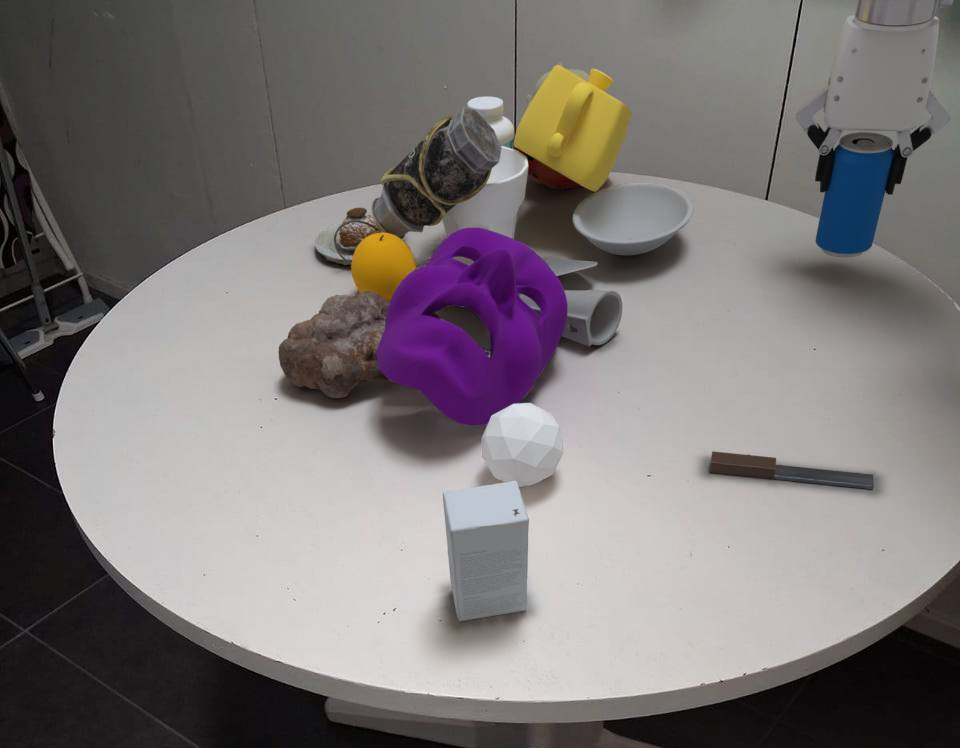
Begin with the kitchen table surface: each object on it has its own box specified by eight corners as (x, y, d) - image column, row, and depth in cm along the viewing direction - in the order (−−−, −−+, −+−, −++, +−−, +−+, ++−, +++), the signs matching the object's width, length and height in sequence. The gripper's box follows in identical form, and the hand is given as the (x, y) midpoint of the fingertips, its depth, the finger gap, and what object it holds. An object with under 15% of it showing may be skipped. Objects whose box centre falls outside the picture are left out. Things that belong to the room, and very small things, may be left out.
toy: (521, 85, 138) (518, 197, 142) (502, 52, 124) (499, 177, 128) (625, 81, 135) (618, 196, 139) (617, 47, 121) (610, 175, 125)
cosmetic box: (516, 572, 82) (519, 478, 72) (527, 612, 80) (531, 520, 70) (448, 583, 82) (441, 489, 72) (456, 623, 80) (450, 532, 70)
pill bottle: (498, 223, 129) (494, 116, 119) (452, 213, 132) (445, 108, 122) (525, 201, 133) (523, 96, 123) (480, 192, 136) (475, 89, 126)
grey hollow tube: (503, 292, 119) (625, 326, 109) (469, 318, 117) (590, 356, 106) (494, 249, 115) (620, 280, 104) (458, 275, 113) (583, 310, 102)
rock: (429, 363, 113) (422, 275, 108) (458, 388, 104) (452, 292, 98) (277, 383, 109) (263, 292, 104) (293, 412, 99) (278, 313, 94)
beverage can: (860, 234, 115) (885, 128, 106) (878, 258, 111) (906, 149, 102) (807, 238, 115) (827, 133, 106) (823, 263, 111) (846, 154, 102)
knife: (872, 477, 89) (875, 467, 88) (872, 489, 88) (876, 479, 87) (710, 461, 92) (712, 451, 91) (709, 472, 91) (710, 462, 90)
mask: (476, 473, 96) (576, 324, 107) (525, 383, 82) (633, 224, 94) (335, 382, 95) (451, 242, 106) (361, 276, 82) (490, 129, 93)
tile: (603, 261, 114) (603, 265, 114) (550, 257, 122) (550, 261, 122) (464, 297, 105) (465, 301, 106) (417, 290, 114) (418, 294, 114)
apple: (355, 282, 120) (345, 223, 114) (417, 276, 120) (410, 217, 115) (356, 314, 115) (346, 254, 109) (420, 308, 115) (414, 247, 109)
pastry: (401, 266, 122) (397, 230, 119) (309, 269, 123) (303, 234, 119) (408, 224, 130) (404, 190, 127) (322, 228, 131) (316, 194, 127)
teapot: (529, 151, 130) (571, 62, 125) (607, 196, 130) (652, 109, 125) (499, 138, 113) (547, 33, 107) (589, 191, 113) (641, 88, 107)
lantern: (458, 85, 105) (323, 217, 121) (449, 126, 101) (310, 257, 117) (511, 143, 110) (374, 263, 126) (504, 184, 106) (364, 302, 122)
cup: (444, 229, 129) (437, 143, 120) (535, 231, 127) (534, 144, 119) (426, 274, 120) (417, 185, 112) (523, 276, 119) (521, 186, 110)
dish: (656, 292, 114) (659, 252, 111) (549, 269, 120) (549, 230, 116) (708, 231, 124) (713, 192, 121) (608, 212, 129) (609, 174, 126)
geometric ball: (578, 405, 85) (562, 492, 86) (560, 416, 93) (545, 496, 94) (496, 387, 84) (480, 476, 85) (485, 400, 92) (470, 482, 93)
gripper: (985, -6, 96) (934, 178, 109) (806, -5, 99) (778, 173, 112) (994, 15, 91) (939, 205, 104) (806, 16, 94) (776, 199, 107)
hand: (855, 187), depth 108 cm, fingers closed on beverage can, 6 cm apart
